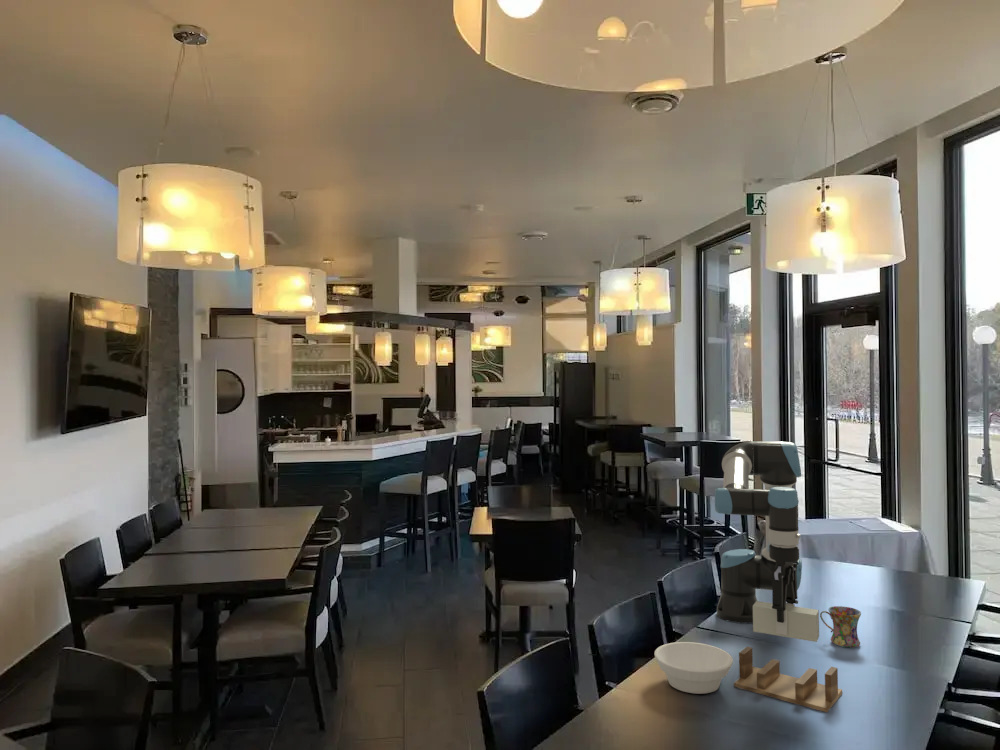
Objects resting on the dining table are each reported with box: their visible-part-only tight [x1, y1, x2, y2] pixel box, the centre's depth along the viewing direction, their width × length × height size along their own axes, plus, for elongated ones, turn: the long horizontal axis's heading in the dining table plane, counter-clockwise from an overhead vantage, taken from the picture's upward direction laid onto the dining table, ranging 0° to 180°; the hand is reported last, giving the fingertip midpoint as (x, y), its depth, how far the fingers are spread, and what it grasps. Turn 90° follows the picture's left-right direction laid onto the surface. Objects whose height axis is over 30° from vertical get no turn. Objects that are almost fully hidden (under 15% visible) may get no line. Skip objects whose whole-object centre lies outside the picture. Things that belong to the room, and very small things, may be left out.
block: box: [752, 600, 820, 643], centre depth 187 cm, size 16×5×7 cm, turn 58°
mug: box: [819, 605, 862, 648], centre depth 219 cm, size 12×9×11 cm
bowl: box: [654, 641, 734, 695], centre depth 190 cm, size 21×21×8 cm
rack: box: [733, 646, 843, 713], centre depth 186 cm, size 24×14×8 cm, turn 49°
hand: (785, 630), depth 187 cm, fingers closed on block, 5 cm apart
